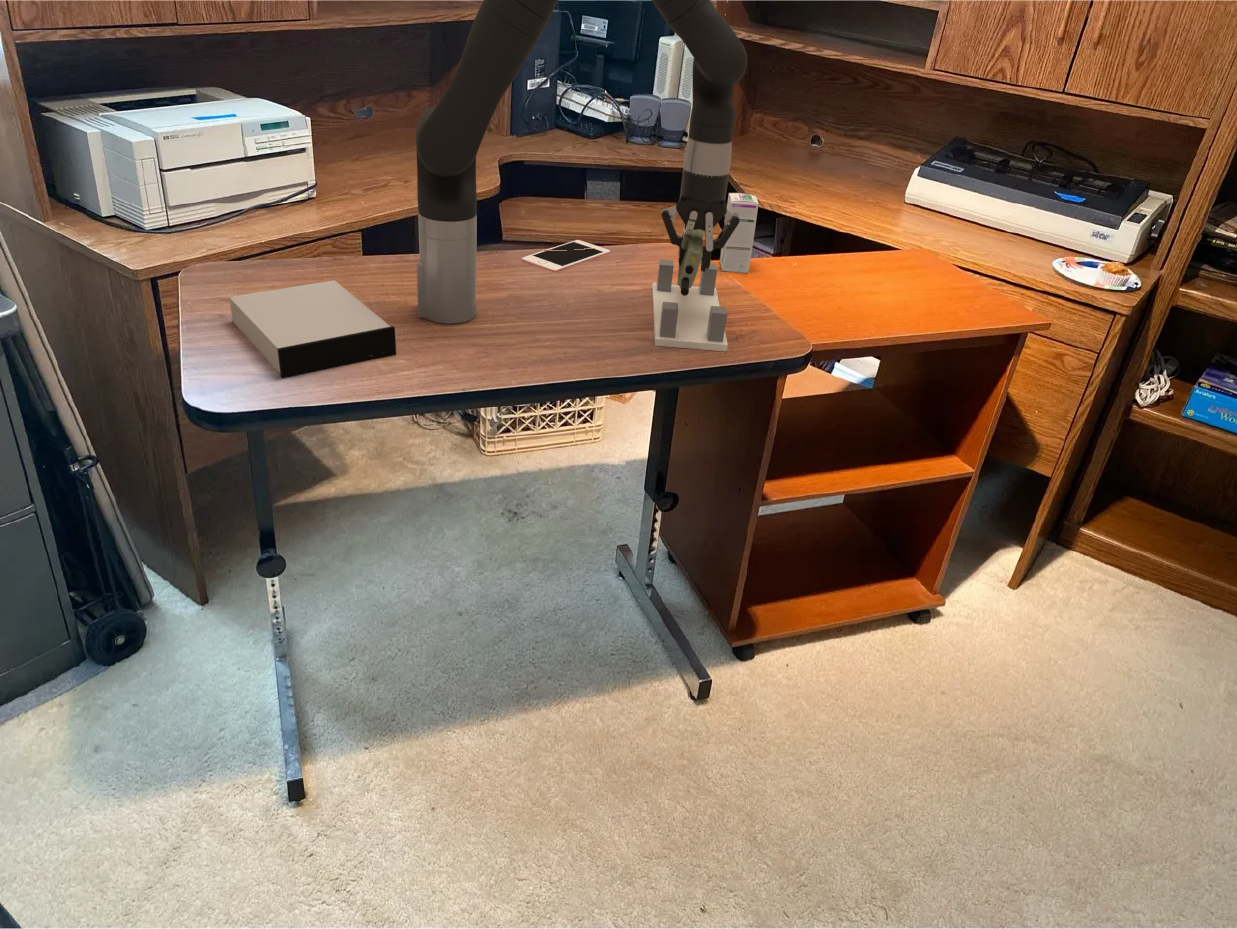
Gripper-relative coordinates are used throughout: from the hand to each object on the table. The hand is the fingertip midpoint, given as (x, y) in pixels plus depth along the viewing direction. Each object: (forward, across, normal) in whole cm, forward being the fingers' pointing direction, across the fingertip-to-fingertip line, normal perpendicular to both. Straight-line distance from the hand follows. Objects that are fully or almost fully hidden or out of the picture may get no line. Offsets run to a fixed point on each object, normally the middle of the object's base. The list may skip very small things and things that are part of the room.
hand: (693, 268), depth 159 cm
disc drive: (+10, -60, -21) cm, 64 cm away
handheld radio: (+1, -2, 0) cm, 2 cm away
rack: (+9, 0, 0) cm, 9 cm away
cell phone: (+10, -23, +27) cm, 37 cm away
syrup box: (+9, +11, +29) cm, 32 cm away
